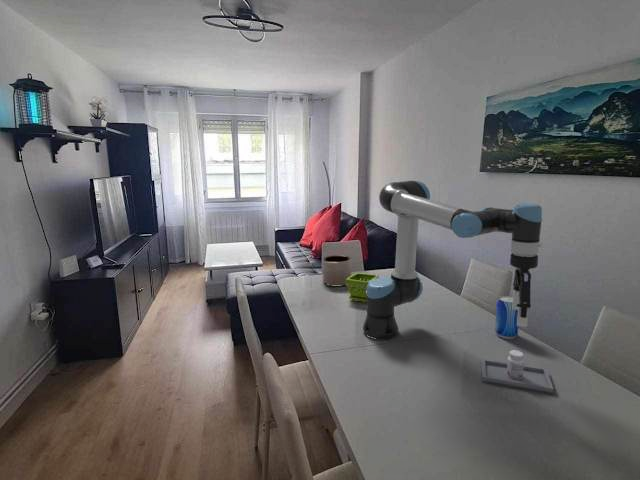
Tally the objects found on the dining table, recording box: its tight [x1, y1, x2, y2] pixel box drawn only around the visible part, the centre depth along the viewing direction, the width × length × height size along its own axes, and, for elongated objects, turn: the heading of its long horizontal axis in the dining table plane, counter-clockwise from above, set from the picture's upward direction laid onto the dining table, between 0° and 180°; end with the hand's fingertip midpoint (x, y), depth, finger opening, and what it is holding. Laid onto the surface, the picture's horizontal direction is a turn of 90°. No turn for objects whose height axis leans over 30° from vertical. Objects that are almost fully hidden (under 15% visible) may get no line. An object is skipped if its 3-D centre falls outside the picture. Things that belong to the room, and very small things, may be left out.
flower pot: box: [346, 272, 380, 303], centre depth 194 cm, size 14×14×13 cm
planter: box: [322, 254, 353, 286], centre depth 223 cm, size 18×18×16 cm
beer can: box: [494, 295, 519, 340], centre depth 147 cm, size 8×8×16 cm
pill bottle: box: [507, 349, 525, 380], centre depth 119 cm, size 5×5×8 cm
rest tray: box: [481, 358, 555, 395], centre depth 120 cm, size 20×12×2 cm, turn 68°
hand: (519, 317), depth 116 cm, fingers open, 13 cm apart
